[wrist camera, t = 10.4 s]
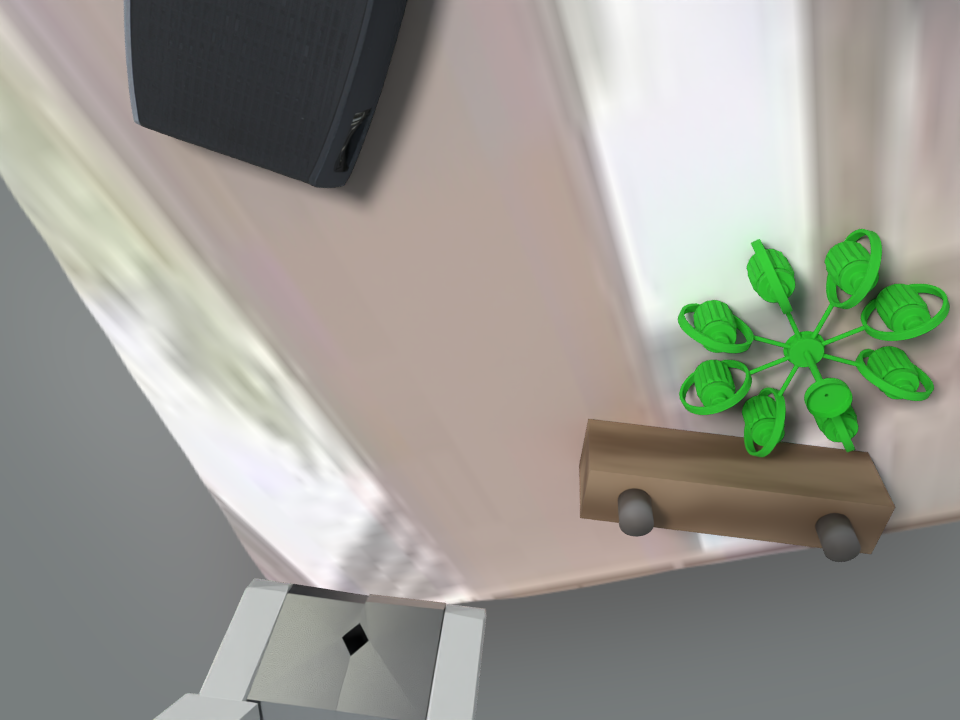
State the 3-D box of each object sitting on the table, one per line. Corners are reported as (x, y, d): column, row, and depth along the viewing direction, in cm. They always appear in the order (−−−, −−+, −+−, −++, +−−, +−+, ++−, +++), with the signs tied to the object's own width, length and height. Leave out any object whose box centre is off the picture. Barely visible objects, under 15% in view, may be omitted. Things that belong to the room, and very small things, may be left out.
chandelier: (891, 163, 40) (945, 216, 34) (963, 375, 46) (1019, 450, 40) (624, 286, 45) (633, 350, 39) (722, 461, 52) (742, 538, 46)
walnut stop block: (588, 418, 50) (590, 493, 44) (867, 452, 50) (907, 532, 44) (579, 465, 52) (580, 541, 47) (846, 497, 52) (882, 579, 46)
